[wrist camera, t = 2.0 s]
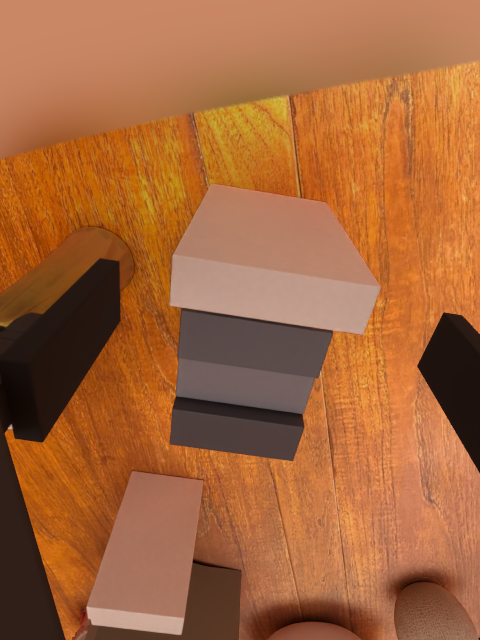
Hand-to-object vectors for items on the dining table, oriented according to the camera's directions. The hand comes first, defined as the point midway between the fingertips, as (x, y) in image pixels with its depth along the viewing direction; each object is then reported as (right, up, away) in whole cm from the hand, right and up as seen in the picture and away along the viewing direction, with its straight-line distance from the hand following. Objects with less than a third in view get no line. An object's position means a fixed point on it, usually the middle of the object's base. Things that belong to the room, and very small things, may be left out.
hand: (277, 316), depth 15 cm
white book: (+1, +9, +14) cm, 16 cm away
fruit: (+26, -42, +43) cm, 65 cm away
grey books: (-1, +1, +19) cm, 19 cm away
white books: (-11, -22, +33) cm, 41 cm away
